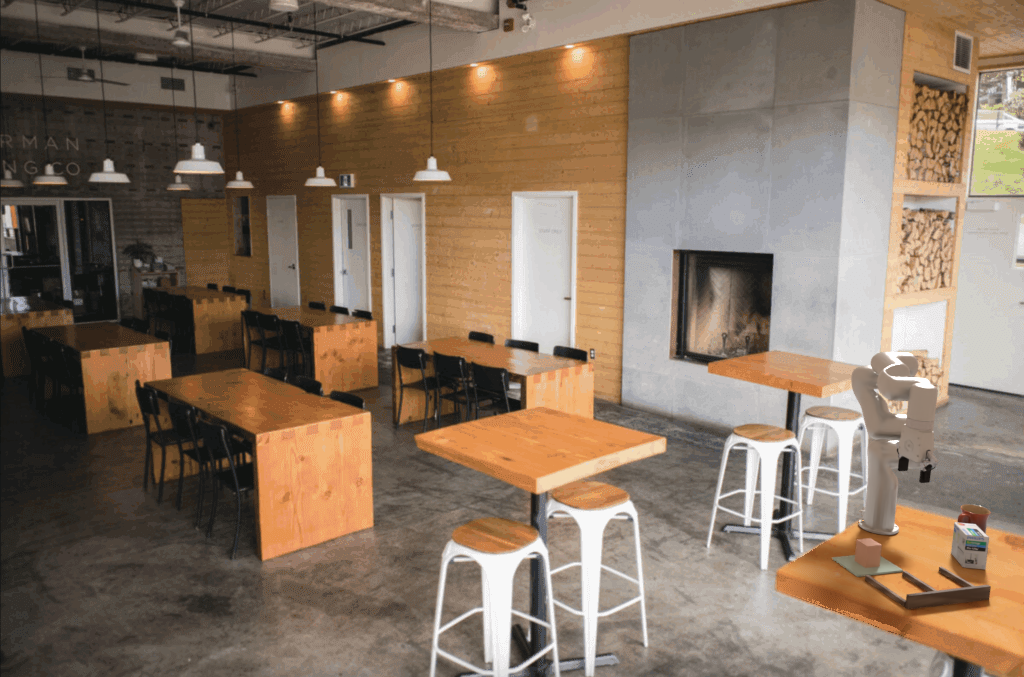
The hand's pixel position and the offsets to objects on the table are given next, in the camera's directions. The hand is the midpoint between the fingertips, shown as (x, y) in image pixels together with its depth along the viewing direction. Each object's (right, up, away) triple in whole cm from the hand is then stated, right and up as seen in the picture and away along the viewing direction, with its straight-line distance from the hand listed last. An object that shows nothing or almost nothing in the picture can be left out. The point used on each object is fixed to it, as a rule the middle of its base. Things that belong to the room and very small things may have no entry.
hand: (913, 476), depth 235 cm
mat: (-15, -27, -1) cm, 31 cm away
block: (-15, -27, -1) cm, 31 cm away
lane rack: (-5, -30, -15) cm, 34 cm away
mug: (+29, -25, +20) cm, 43 cm away
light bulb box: (+19, -27, +3) cm, 33 cm away
